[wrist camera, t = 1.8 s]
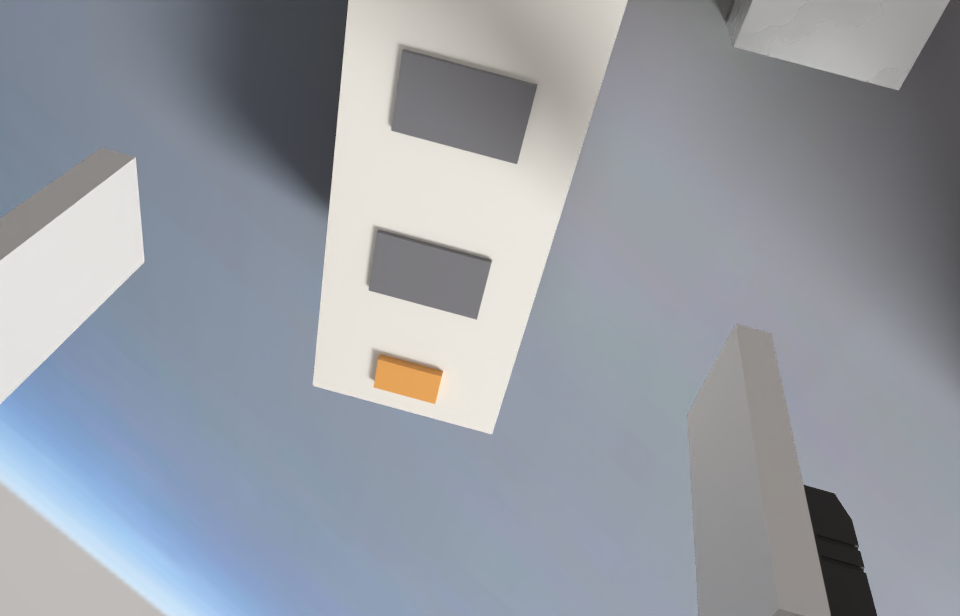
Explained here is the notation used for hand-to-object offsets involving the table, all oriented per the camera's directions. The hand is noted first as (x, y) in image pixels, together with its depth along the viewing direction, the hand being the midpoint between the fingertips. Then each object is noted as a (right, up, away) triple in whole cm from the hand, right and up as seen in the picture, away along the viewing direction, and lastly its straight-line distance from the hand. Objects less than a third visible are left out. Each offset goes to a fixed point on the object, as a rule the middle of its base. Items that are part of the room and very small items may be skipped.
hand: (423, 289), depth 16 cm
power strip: (+2, +7, +9) cm, 11 cm away
